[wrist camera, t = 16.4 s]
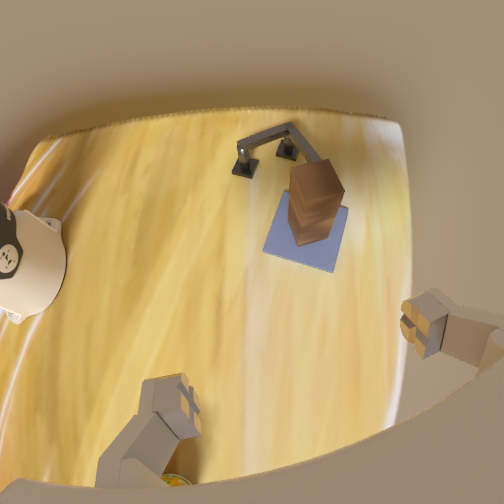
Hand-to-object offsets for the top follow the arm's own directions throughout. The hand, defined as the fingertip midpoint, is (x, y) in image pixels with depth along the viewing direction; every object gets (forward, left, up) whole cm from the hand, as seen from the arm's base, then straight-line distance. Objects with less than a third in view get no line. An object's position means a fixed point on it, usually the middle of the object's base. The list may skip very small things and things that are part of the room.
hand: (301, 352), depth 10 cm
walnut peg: (-2, +16, -24) cm, 29 cm away
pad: (-2, +16, -25) cm, 30 cm away
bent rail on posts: (-8, +25, -25) cm, 36 cm away
